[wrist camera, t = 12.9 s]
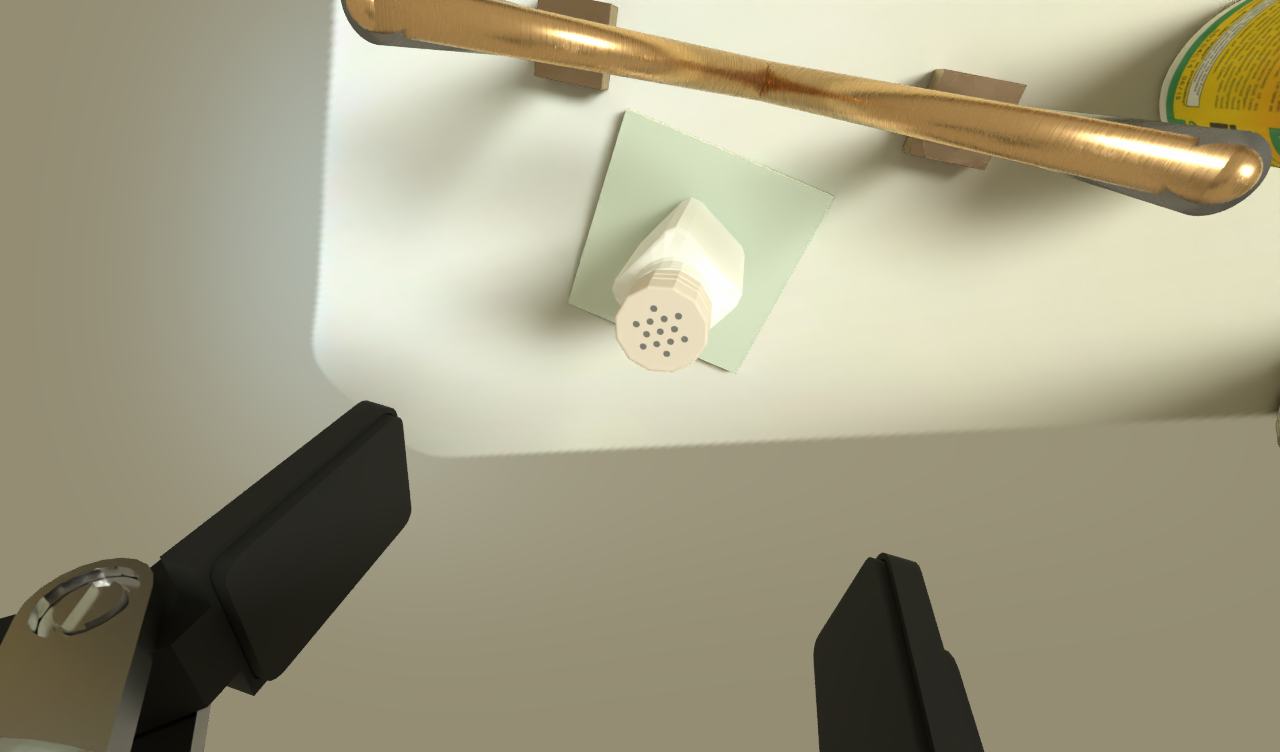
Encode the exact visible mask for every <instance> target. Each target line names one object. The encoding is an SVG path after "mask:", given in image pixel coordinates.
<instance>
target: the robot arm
mask: <svg viewBox="0 0 1280 752" xmlns="http://www.w3.org/2000/svg"><path fill="white" fill-rule="evenodd" d="M1276 431H1277V439H1278V445H1279V447H1280V407H1279V412H1278V417H1277V421H1276ZM410 514H411V501H410V490H409V480H408V472H407V462H406V451H405V441H404V431H403V423H402V420H401V418H399V417H397V413H396V411H395V410H394V409H393V408H390V407H387V406H384V405H380V404H377V403H373V402H370V401H367V400H366V401H362V402H360V403H358V404H357V405H355V406H354V407H353V408H352V409H350V410H349V411H348V412H346V413H345V414H344V415H342V416H341V417H340V418H339V419H337V420H336V421H335V422H333V423H332V424H331V425H330V426H329V427H327V428H326V429H324V430H323V431H322V432H321V433H319V434H318V435H317V436H315V437H314V438H313V439H312V440H310V441H309V442H308V443H306V444H305V445H304V446H303V447H302V448H300V449H299V450H297V451H296V452H295V453H294V454H292V455H291V456H290V457H288V458H287V459H286V460H284V461H283V462H282V463H281V464H279V465H278V466H277V467H275V468H274V469H273V470H271V471H270V472H269V473H268V474H266V475H265V476H264V477H262V478H261V479H260V480H259V481H257V482H256V483H255V484H253V485H252V486H251V487H250V488H248V489H247V490H246V491H244V492H243V493H242V494H241V495H239V496H238V497H237V498H235V499H234V500H233V501H231V502H230V503H229V504H228V505H226V506H225V507H224V508H222V509H221V510H220V511H219V512H218V513H216V514H215V515H213V516H212V517H211V518H210V519H208V520H207V521H206V522H204V523H203V524H202V525H200V526H199V527H198V528H197V529H195V530H194V531H193V532H191V533H190V534H189V535H188V536H186V537H185V538H184V539H182V540H181V541H180V542H179V543H177V544H176V545H175V546H173V547H172V548H171V549H169V550H168V551H167V552H166V553H164V554H163V555H162V556H160V558H161V560H159V561H158V562H157V563H156V564H154V565H153V566H152V567H149V566H148V565H147V564H146V563H143V562H141V561H139V560H137V559H129V558H114V559H106V560H101V561H97V562H93V563H90V564H86V565H83V566H80V567H78V568H76V569H74V570H71V571H69V572H67V573H65V574H62V575H60V576H59V577H57V578H56V579H54V580H52V581H51V582H49V583H48V584H46V585H44V586H43V587H41V588H40V589H39V590H38V591H37V592H36V593H34V594H33V595H32V596H31V597H30V598H29V599H28V600H27V601H26V602H24V604H23V605H22V607H21V608H20V610H19V611H18V613H17V614H15V615H12V616H8V617H5V618H1V619H0V752H204V747H205V740H206V734H207V727H208V721H209V713H210V708H211V703H212V702H213V700H214V699H215V698H216V697H217V696H218V695H219V694H220V693H221V692H222V690H223V689H224V688H225V687H226V686H228V687H231V688H234V689H236V690H240V691H242V692H245V693H247V694H250V695H253V696H254V695H255V694H256V693H257V692H258V690H259V689H260V688H261V687H262V686H263V685H264V684H265V682H266V681H267V680H268V681H272V680H274V679H276V678H277V677H278V676H280V675H281V674H282V673H283V672H284V671H285V670H286V668H287V667H288V666H289V665H290V664H291V662H292V661H293V660H294V659H295V658H296V656H297V655H298V654H299V653H300V652H301V650H302V649H303V648H304V647H305V646H306V644H307V643H308V642H309V641H310V640H311V638H312V637H313V636H314V635H315V634H316V632H317V631H318V630H319V629H320V628H321V626H322V625H323V624H324V623H325V621H326V620H327V619H328V618H329V616H331V614H332V613H333V612H334V611H335V610H336V608H337V607H338V606H339V604H341V602H342V601H343V600H344V599H345V598H346V596H347V595H348V594H349V593H350V591H351V590H352V589H353V588H354V587H355V585H356V584H357V583H358V582H359V580H360V579H361V578H362V577H363V576H364V575H365V573H366V572H367V571H368V570H369V569H370V567H371V566H372V565H373V564H374V562H375V561H376V560H377V559H378V558H379V557H380V555H381V554H382V553H383V552H384V550H385V549H386V548H387V547H388V546H389V545H390V543H391V542H392V541H393V540H394V539H395V537H396V536H397V535H398V534H399V533H400V531H401V530H402V529H403V528H404V526H405V525H406V524H407V522H408V520H409V517H410ZM814 673H815V686H816V687H815V688H816V703H817V718H818V735H819V750H820V752H984V750H983V746H982V743H981V740H980V736H979V733H978V730H977V727H976V724H975V720H974V717H973V714H972V711H971V707H970V704H969V701H968V698H967V694H966V692H965V688H964V685H963V682H962V678H961V675H960V672H959V669H958V666H957V664H956V662H955V659H954V658H953V657H952V655H951V654H950V653H949V652H948V651H946V650H944V647H943V643H942V640H941V637H940V633H939V630H938V627H937V623H936V620H935V617H934V613H933V610H932V606H931V603H930V599H929V596H928V593H927V589H926V586H925V582H924V579H923V576H922V572H921V569H920V567H919V565H918V564H917V563H916V562H913V561H910V560H906V559H903V558H900V557H896V556H893V555H889V554H886V553H881V554H879V555H878V557H877V558H876V559H874V558H871V557H869V558H868V559H867V560H866V561H865V563H864V564H863V566H862V567H861V569H860V570H859V572H858V574H857V575H856V577H855V578H854V580H853V582H852V583H851V585H850V586H849V588H848V589H847V591H846V593H845V594H844V596H843V598H842V599H841V601H840V602H839V604H838V605H837V607H836V609H835V610H834V612H833V613H832V615H831V617H830V618H829V620H828V621H827V623H826V624H825V626H824V627H823V629H822V631H821V632H820V634H819V635H818V637H817V639H816V642H815V646H814Z"/></svg>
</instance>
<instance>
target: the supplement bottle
mask: <svg viewBox="0 0 1280 752" xmlns="http://www.w3.org/2000/svg"><path fill="white" fill-rule="evenodd" d="M1159 110H1160V118H1161V121H1162V122H1168V123H1177V124H1186V125H1196V126H1205V127H1214V128H1223V129H1232V130H1241V131H1249V132H1253V133H1257V134H1259V135H1261V136H1262V137H1263V138H1265V139H1266V140H1267V142H1268V143H1269V145H1270V147H1271V151H1272V161H1271V165H1270V166H1271V167H1278V168H1280V0H1241V1H1239V2H1237V3H1235V4H1233V5H1232V6H1230V7H1228V8H1227V9H1225V10H1224V11H1222V12H1221V13H1219V14H1218V15H1216V16H1215V17H1214V18H1213V19H1211V20H1210V21H1209V22H1207V23H1206V24H1205V25H1204V26H1203V27H1202V28H1201V29H1200V30H1199V31H1198V32H1197V33H1196V34H1195V35H1194V36H1193V37H1192V38H1191V39H1190V40H1189V41H1188V42H1187V43H1186V45H1185V46H1184V47H1183V48H1182V50H1181V51H1180V52H1179V54H1178V55H1177V57H1176V58H1175V60H1174V62H1173V63H1172V65H1171V67H1170V68H1169V70H1168V72H1167V75H1166V77H1165V79H1164V82H1163V85H1162V89H1161V93H1160V100H1159Z"/></svg>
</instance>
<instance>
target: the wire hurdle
mask: <svg viewBox="0 0 1280 752" xmlns="http://www.w3.org/2000/svg"><path fill="white" fill-rule="evenodd" d="M341 3H342V7H343V10H344V13H345V15H346V17H347V19H348V21H349V23H350V24H351V26H352V27H353V29H354V30H355V31H356V32H357V33H358V34H359V35H360V36H361V37H362V38H364V39H365V40H367V41H368V42H370V43H373V44H376V45H386V46H398V47H409V48H421V49H433V50H445V51H456V52H468V53H480V54H492V55H503V56H508V57H514V58H520V59H525V60H531V61H535V73H534V76H538V77H543V78H548V79H552V80H557V81H562V82H567V83H571V84H576V85H581V86H586V87H591V88H595V89H600V90H604V89H608V87H609V79H610V75H616V76H622V77H627V78H633V79H639V80H644V81H650V82H656V83H661V84H667V85H673V86H678V87H684V88H690V89H695V90H701V91H707V92H712V93H718V94H723V95H729V96H735V97H740V98H746V99H752V100H757V101H762V102H766V103H771V104H775V105H779V106H783V107H788V108H792V109H796V110H800V111H805V112H809V113H813V114H817V115H822V116H826V117H830V118H834V119H838V120H843V121H847V122H851V123H855V124H860V125H864V126H868V127H872V128H877V129H881V130H885V131H889V132H894V133H898V134H902V135H906V136H908V137H907V139H906V142H905V144H904V146H903V149H902V151H904V152H906V153H908V154H910V155H915V156H920V157H925V158H929V159H934V160H939V161H944V162H948V163H953V164H958V165H963V166H968V167H972V168H977V169H982V170H984V169H985V167H986V166H987V164H988V162H989V160H990V158H991V156H996V157H1000V158H1004V159H1008V160H1013V161H1017V162H1021V163H1025V164H1030V165H1033V166H1037V167H1040V168H1043V169H1046V170H1049V171H1052V172H1055V173H1058V174H1062V175H1065V176H1068V177H1071V178H1074V179H1077V180H1080V181H1083V182H1087V183H1090V184H1093V185H1096V186H1099V187H1102V188H1105V189H1108V190H1112V191H1115V192H1118V193H1121V194H1124V195H1127V196H1130V197H1133V198H1137V199H1140V200H1143V201H1146V202H1149V203H1152V204H1155V205H1158V206H1162V207H1165V208H1168V209H1171V210H1174V211H1177V212H1180V213H1183V214H1187V215H1192V216H1205V215H1211V214H1215V213H1218V212H1221V211H1224V210H1226V209H1229V208H1231V207H1233V206H1234V205H1236V204H1238V203H1240V202H1241V201H1242V200H1244V199H1245V198H1247V197H1248V196H1249V195H1250V194H1251V193H1252V192H1253V191H1254V190H1256V188H1257V187H1258V186H1259V185H1260V184H1261V182H1262V181H1263V180H1264V178H1265V177H1266V175H1267V173H1268V171H1269V168H1270V165H1271V161H1272V151H1271V147H1270V145H1269V143H1268V142H1267V140H1266V139H1265V138H1263V137H1262V136H1261V135H1259V134H1257V133H1253V132H1249V131H1241V130H1232V129H1223V128H1214V127H1205V126H1196V125H1186V124H1177V123H1168V122H1159V121H1150V120H1141V119H1132V118H1123V117H1114V116H1105V115H1096V114H1087V113H1078V112H1069V111H1060V110H1051V109H1042V108H1033V107H1026V106H1021V105H1017V104H1018V102H1019V100H1020V98H1021V96H1022V94H1023V92H1024V90H1025V88H1026V86H1027V85H1023V84H1018V83H1013V82H1008V81H1003V80H998V79H993V78H988V77H982V76H977V75H972V74H967V73H962V72H957V71H952V70H947V69H936V70H935V71H934V74H933V76H932V79H931V81H930V83H929V86H928V88H927V89H924V88H919V87H913V86H907V85H902V84H896V83H890V82H885V81H879V80H873V79H868V78H862V77H856V76H851V75H845V74H839V73H834V72H828V71H822V70H817V69H811V68H806V67H800V66H794V65H789V64H783V63H777V62H772V61H767V60H762V59H758V58H753V57H749V56H744V55H740V54H735V53H731V52H726V51H722V50H717V49H713V48H708V47H704V46H699V45H695V44H690V43H686V42H681V41H677V40H673V39H668V38H664V37H659V36H655V35H650V34H646V33H641V32H637V31H632V30H628V29H623V28H619V27H616V20H617V12H618V7H616V6H614V5H612V4H609V3H604V2H599V1H594V0H538V9H534V8H529V7H525V6H522V5H519V4H515V3H512V2H509V1H506V0H341Z"/></svg>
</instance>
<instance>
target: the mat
mask: <svg viewBox="0 0 1280 752" xmlns="http://www.w3.org/2000/svg"><path fill="white" fill-rule="evenodd" d="M691 197H692V198H695V199H697V200H699V201H701V202H702V203H703V204H704V205H705V206H706V207H707V209H708V210H709V211H710V212H711V213H712V214H713V215H714V216H715V217H716V218H717V220H718V221H719V222H720V223H721V224H722V225H723V226H724V227H725V228H726V229H727V230H728V232H729V233H730V234H731V235H732V236H733V237H734V238H735V239H736V240H737V241H738V243H739V244H740V245H741V246H742V248H743V251H744V254H745V259H744V274H743V288H742V296H741V298H740V300H739V302H738V304H737V306H736V307H735V308H734V309H733V310H732V311H731V312H730V313H728V314H727V315H726V316H725V317H724V318H723V319H722V320H721V321H719V322H718V323H717V324H716V325H715V326H713V327H712V328H711V329H710V332H709V337H708V343H707V346H706V347H705V349H704V350H703V351H702V353H701V354H700V355H699V357H698V358H699V359H702V360H704V361H706V362H709V363H711V364H714V365H716V366H718V367H721V368H723V369H726V370H728V371H730V372H733V373H735V374H736V373H737V372H738V370H739V368H740V366H741V365H742V363H743V361H744V359H745V357H746V356H747V354H748V352H749V350H750V348H751V347H752V345H753V343H754V341H755V339H756V338H757V336H758V334H759V332H760V330H761V329H762V327H763V325H764V323H765V322H766V320H767V318H768V316H769V314H770V313H771V311H772V309H773V307H774V305H775V304H776V302H777V300H778V298H779V296H780V295H781V293H782V291H783V289H784V287H785V286H786V284H787V282H788V280H789V279H790V277H791V275H792V273H793V271H794V270H795V268H796V266H797V264H798V262H799V261H800V259H801V257H802V255H803V253H804V252H805V250H806V248H807V246H808V244H809V243H810V241H811V239H812V237H813V235H814V234H815V232H816V230H817V228H818V227H819V225H820V223H821V221H822V219H823V218H824V216H825V214H826V212H827V210H828V209H829V207H830V205H831V203H832V201H833V200H834V197H833V195H830V194H828V193H826V192H823V191H821V190H819V189H816V188H814V187H812V186H809V185H807V184H804V183H802V182H800V181H797V180H795V179H793V178H790V177H788V176H786V175H783V174H781V173H779V172H776V171H774V170H772V169H769V168H767V167H765V166H762V165H760V164H758V163H755V162H753V161H751V160H748V159H746V158H744V157H741V156H739V155H737V154H734V153H732V152H730V151H727V150H725V149H722V148H720V147H718V146H715V145H713V144H711V143H708V142H706V141H704V140H701V139H699V138H697V137H694V136H692V135H690V134H687V133H685V132H683V131H680V130H678V129H676V128H673V127H671V126H669V125H666V124H664V123H662V122H659V121H657V120H655V119H652V118H650V117H648V116H645V115H643V114H640V113H638V112H636V111H633V110H631V109H626V111H625V115H624V118H623V121H622V125H621V128H620V131H619V135H618V138H617V141H616V144H615V148H614V151H613V154H612V158H611V161H610V164H609V168H608V171H607V174H606V178H605V181H604V184H603V187H602V191H601V194H600V197H599V201H598V204H597V207H596V211H595V214H594V217H593V221H592V224H591V227H590V231H589V234H588V237H587V240H586V244H585V247H584V250H583V254H582V257H581V260H580V264H579V267H578V270H577V274H576V277H575V280H574V284H573V287H572V290H571V293H570V297H569V300H568V304H571V305H573V306H576V307H578V308H580V309H583V310H585V311H587V312H590V313H592V314H595V315H597V316H599V317H602V318H604V319H606V320H609V321H611V322H614V323H615V315H616V314H617V312H618V310H619V308H620V307H621V305H620V304H619V303H618V302H617V301H616V298H615V295H614V292H613V290H612V287H613V284H614V281H615V279H616V277H617V276H618V275H619V273H620V272H621V270H622V269H623V267H624V266H625V265H626V263H627V262H628V260H629V259H630V257H631V256H632V255H633V253H634V252H635V250H636V249H637V248H638V246H639V245H640V243H641V242H642V241H643V240H644V239H645V238H646V237H647V236H648V235H649V234H650V233H651V232H652V231H653V230H654V229H655V228H656V227H657V226H658V225H659V224H660V223H661V222H662V221H663V220H664V219H665V218H666V217H667V216H668V215H669V214H670V213H671V212H672V211H673V210H674V209H675V208H676V207H677V206H678V205H679V204H680V203H681V202H682V201H684V200H686V199H689V198H691Z"/></svg>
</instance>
